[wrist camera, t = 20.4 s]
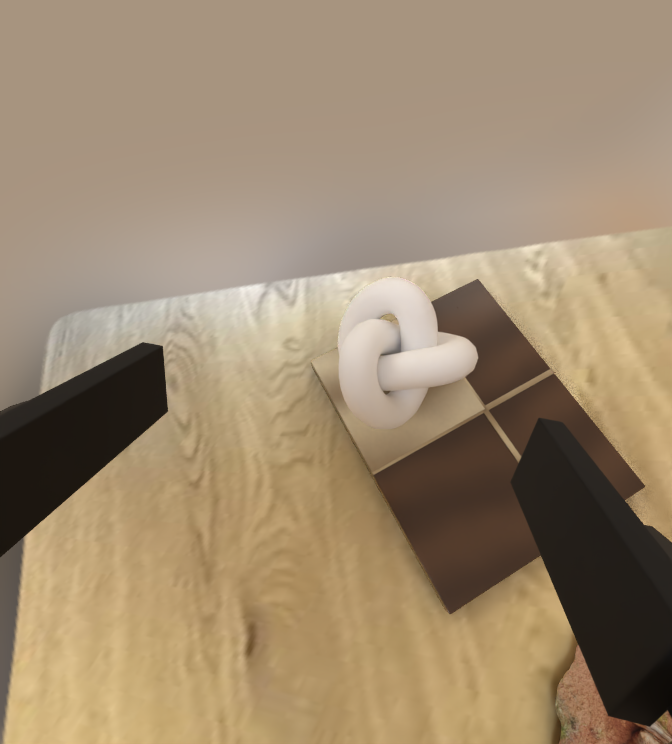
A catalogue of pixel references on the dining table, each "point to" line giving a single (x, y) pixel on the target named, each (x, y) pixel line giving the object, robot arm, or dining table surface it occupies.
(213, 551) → the dining table surface
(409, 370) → the white knot sculpture
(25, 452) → the robot arm
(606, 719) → the clay slab
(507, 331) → the board
